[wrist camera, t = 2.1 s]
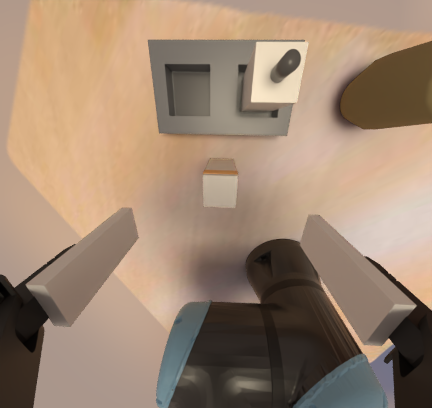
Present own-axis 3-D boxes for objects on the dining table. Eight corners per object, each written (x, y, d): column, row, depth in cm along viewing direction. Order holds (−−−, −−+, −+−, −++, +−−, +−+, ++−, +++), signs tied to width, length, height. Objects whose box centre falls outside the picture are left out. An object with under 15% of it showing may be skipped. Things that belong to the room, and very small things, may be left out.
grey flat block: (278, 134, 26) (286, 135, 23) (167, 132, 27) (159, 133, 23) (291, 54, 22) (304, 39, 18) (159, 53, 23) (147, 39, 19)
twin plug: (266, 112, 24) (314, 97, 12) (239, 112, 24) (257, 96, 12) (271, 79, 22) (332, 18, 10) (242, 79, 23) (265, 18, 10)
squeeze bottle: (328, 134, 26) (503, 146, 10) (334, 72, 23) (616, -69, 6) (384, 123, 25) (684, 117, 9) (399, 56, 22) (929, -155, 5)
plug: (232, 181, 30) (236, 208, 20) (209, 180, 30) (202, 207, 20) (233, 158, 28) (238, 175, 18) (209, 158, 28) (202, 174, 18)
